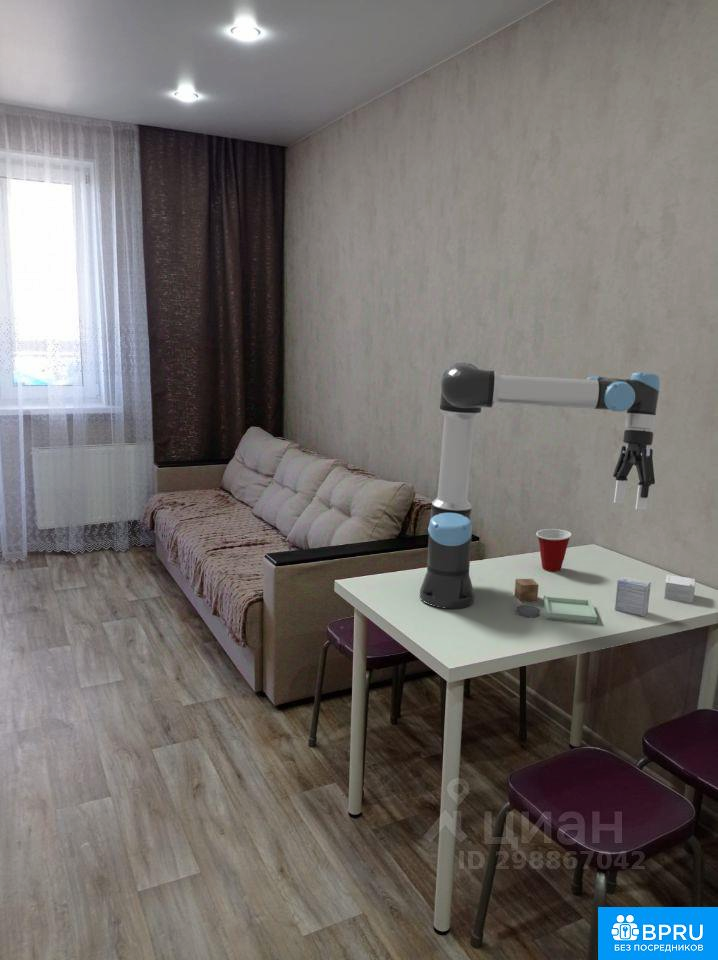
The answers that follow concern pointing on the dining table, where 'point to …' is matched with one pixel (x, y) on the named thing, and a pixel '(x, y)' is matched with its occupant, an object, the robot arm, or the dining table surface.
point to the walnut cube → (526, 590)
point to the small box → (679, 588)
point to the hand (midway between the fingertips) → (629, 506)
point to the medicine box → (632, 596)
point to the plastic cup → (553, 548)
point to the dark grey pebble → (528, 610)
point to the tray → (569, 609)
